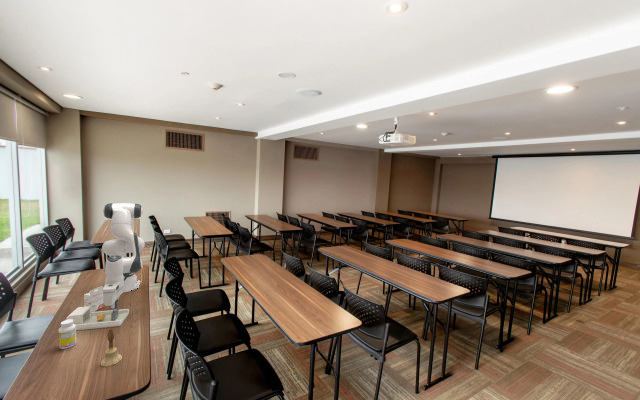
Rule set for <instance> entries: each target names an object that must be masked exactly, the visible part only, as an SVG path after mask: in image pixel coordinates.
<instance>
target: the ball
mask: <svg viewBox="0 0 640 400" xmlns="http://www.w3.org/2000/svg"><path fill="white" fill-rule="evenodd" d="M104 318H105V314H104V313H100V314H98V315H97V320H99V321H100V320H103V319H104Z"/></svg>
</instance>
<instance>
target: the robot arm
mask: <svg viewBox="0 0 640 400" xmlns="http://www.w3.org/2000/svg"><path fill="white" fill-rule="evenodd" d="M102 211H103V212H102V213H103V216H104V217H105V218H107V219H108V220H110V225H109V226H110V229H109V231H110V234H111V236H112V237H114V239H110V240H106V241H104V242H103V244H102V245H101V246H102V247H101V249H102V252H103V253H104V254H105V255H107V256H109V257H107V258H106V261H105V264H104V273H105V279H104V285H103V286H102V287H103V289H102V292H103V306H104V307H107V306H110V309H111V308H115V305H116V304H115V301H116V300H120V296H121V295H122V294H123V293H129V292H131V290H132V291H134V290H137V288H138V289H139V288H140V286H139V285H141V280H139V279H138V276H137V275H136V273H139V271H141V269H143V260H142V256H141V251H143V249H144V248H145V247H146V244H145V241H144V238H142V237H140V236H138V235H137V233H136V232H135V221H134V220H135V219H140V218H141V217H142V215H143V212H144V209H143V208H142V205H141V204H139V203H132V202H131V203H129V202H124V203H123V202H119V203H118V202H117V203H113V202H112V203H107V204H105V205H104V208H103V210H102ZM129 253H130V254H131V253H132V256H125V255H124V254H129ZM137 280H138V281H137Z"/></svg>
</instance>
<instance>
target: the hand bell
mask: <svg viewBox="0 0 640 400" xmlns="http://www.w3.org/2000/svg"><path fill="white" fill-rule="evenodd" d="M106 338H107V341H108V348H107V349H106V350H105V353H104V357H103V359H102V360H101V361H100V366H101V367H105V368H106V367H112V366H115V365H116V364H118V363H120V361H122V359H123V356H122V355H121V354H120V353H119V352H118V348H117V347H114V338H115V332H114V330H113V327H109V328H108V331H107V337H106Z"/></svg>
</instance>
